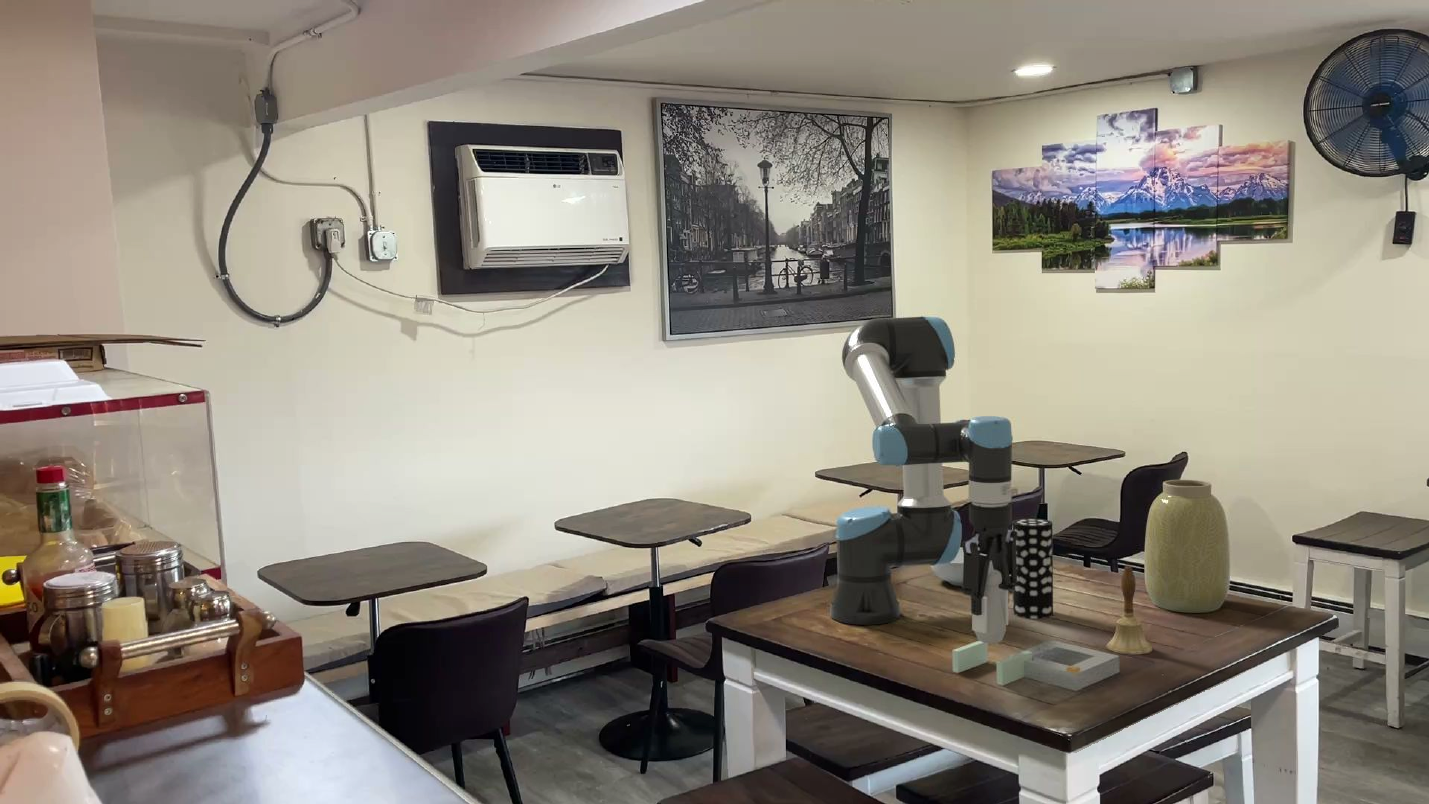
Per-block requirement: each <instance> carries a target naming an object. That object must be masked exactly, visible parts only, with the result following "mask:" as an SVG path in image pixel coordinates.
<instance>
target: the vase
mask: <svg viewBox="0 0 1429 804" xmlns="http://www.w3.org/2000/svg"><path fill="white" fill-rule="evenodd" d="M1144 539H1145V541H1144V558H1143V559H1144V584H1145V587H1146V591H1147V593H1148V595H1149V597H1150V599H1151V600H1152V603H1153V604H1154V605H1155V606H1156V607H1159V608H1161V609H1163V610H1167V611H1172V612H1176V613H1177V612H1178V613H1184V614H1185V613H1187V614H1201V613H1202V614H1203V613H1204V614H1205V613H1211V612H1216V611H1217V610H1219V609H1220V608H1221V606H1222V605H1223V604H1224V603H1225V600H1226V599H1227V596H1228V593H1229V590H1230V582H1231V552H1230V551H1231V550H1230V549H1231V548H1230V534H1229V526H1228V521H1227V515H1226V512H1225V509H1224V507H1223V505H1222V503H1221V501H1219V500H1218V498H1217V497H1216V496H1215V495H1213V494H1212V484H1211V483H1210V482H1208V481H1204V480H1197V479H1170V480H1165V481H1163V482H1162V492H1161V493H1160V494H1158V496H1156V498H1155V499H1154V500H1153V501H1152V504H1151V505H1150V508H1149V512H1148V515H1147V521H1146V526H1145V538H1144Z"/></svg>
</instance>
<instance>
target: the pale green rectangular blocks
mask: <svg viewBox="0 0 1429 804" xmlns="http://www.w3.org/2000/svg"><path fill="white" fill-rule="evenodd" d="M988 644H989V643H984V642H981V641H979V640H978V641H977V640H976V641H974V642H972V643H969V644H965V645H964V646H961V647H957V648H954V649H953V650H951V651H952V657H951V658H952V672H953V673H956V674H959V673H962V672H965V671H966V670H967V671H968V670H969V669H972V667H973V668H975V667H978V666H980V665H983V664H986V663H988V661H989V654H988V653H989V652H988V651H989V650H988V649H989V647H988V646H989V645H988ZM1023 651H1024V650H1023ZM1015 654H1016V653H1015ZM1029 658H1032V652H1029V651H1024V652H1022V653H1019V654H1016V655H1014V656H1011V657H1008V656H1007V657H1006V658H1003V659H1001V660H998V661H996V663H995V664H996V685H998V686H1005V685H1007V684H1010V683H1012V682H1014V681H1017V680H1020V679H1022V678H1025V677H1024V660H1027V659H1029Z"/></svg>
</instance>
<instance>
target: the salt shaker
mask: <svg viewBox="0 0 1429 804" xmlns="http://www.w3.org/2000/svg"><path fill="white" fill-rule="evenodd" d="M1001 582H1002V576H1001V573H1000V572H999V571H997V570H994V569H988V575H987V580H986V586H985V592H984V597H987V633H981V632H977V631H974V634H975V635H976V638H977V640H978V641H981V642H984V643H988V644H998V643H1000V642H1002V641H1003V638H1004V636H1005V634H1006V632H1007V625H1005V619H1004V613H1003V608H1002V602H1001V597H1000V591H999V586H998V585H999V584H1001Z"/></svg>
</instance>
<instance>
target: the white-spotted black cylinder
mask: <svg viewBox="0 0 1429 804" xmlns="http://www.w3.org/2000/svg"><path fill="white" fill-rule="evenodd" d="M1011 524H1012V525H1011V526H1012V527H1011V528H1012V529H1011V530H1012V531H1017V533H1018V535H1017V541H1016V562H1017V582H1016V583H1015V584H1014V583H1013V584H1012V585H1015V588H1014V589H1013V590H1012V611H1013V613H1012V614H1013V615H1015V616H1016V617H1018V618H1024V619H1031V620H1032V619H1034V620H1038V619H1039V620H1041V619H1047V618H1052V616H1054V563H1053V562H1054V560H1053V558H1054V555H1053V554H1054V553H1053V552H1054V546H1053V545H1054V544H1053V543H1054V542H1053V538H1054V537H1053V521H1051V520H1049V519H1043V518H1042V519H1041V518H1018V519H1015V520H1013V521H1012V522H1011Z"/></svg>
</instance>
